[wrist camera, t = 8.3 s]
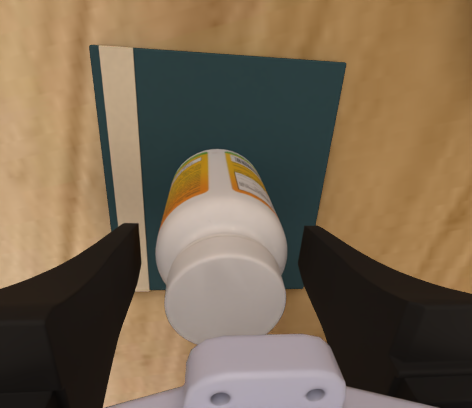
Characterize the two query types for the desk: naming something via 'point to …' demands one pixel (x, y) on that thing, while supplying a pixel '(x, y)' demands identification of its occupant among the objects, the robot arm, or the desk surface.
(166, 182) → the teal notebook
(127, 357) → the desk surface
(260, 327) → the supplement bottle
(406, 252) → the desk surface
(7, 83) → the desk surface
